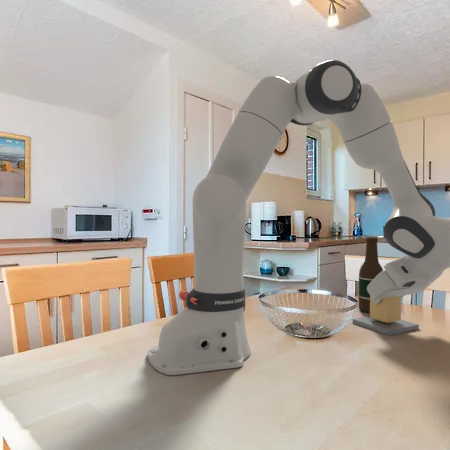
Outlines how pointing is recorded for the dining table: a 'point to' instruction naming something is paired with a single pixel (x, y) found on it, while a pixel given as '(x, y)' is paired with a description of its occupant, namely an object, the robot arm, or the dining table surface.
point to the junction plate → (386, 325)
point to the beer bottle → (368, 273)
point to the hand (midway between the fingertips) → (383, 300)
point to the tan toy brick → (386, 309)
